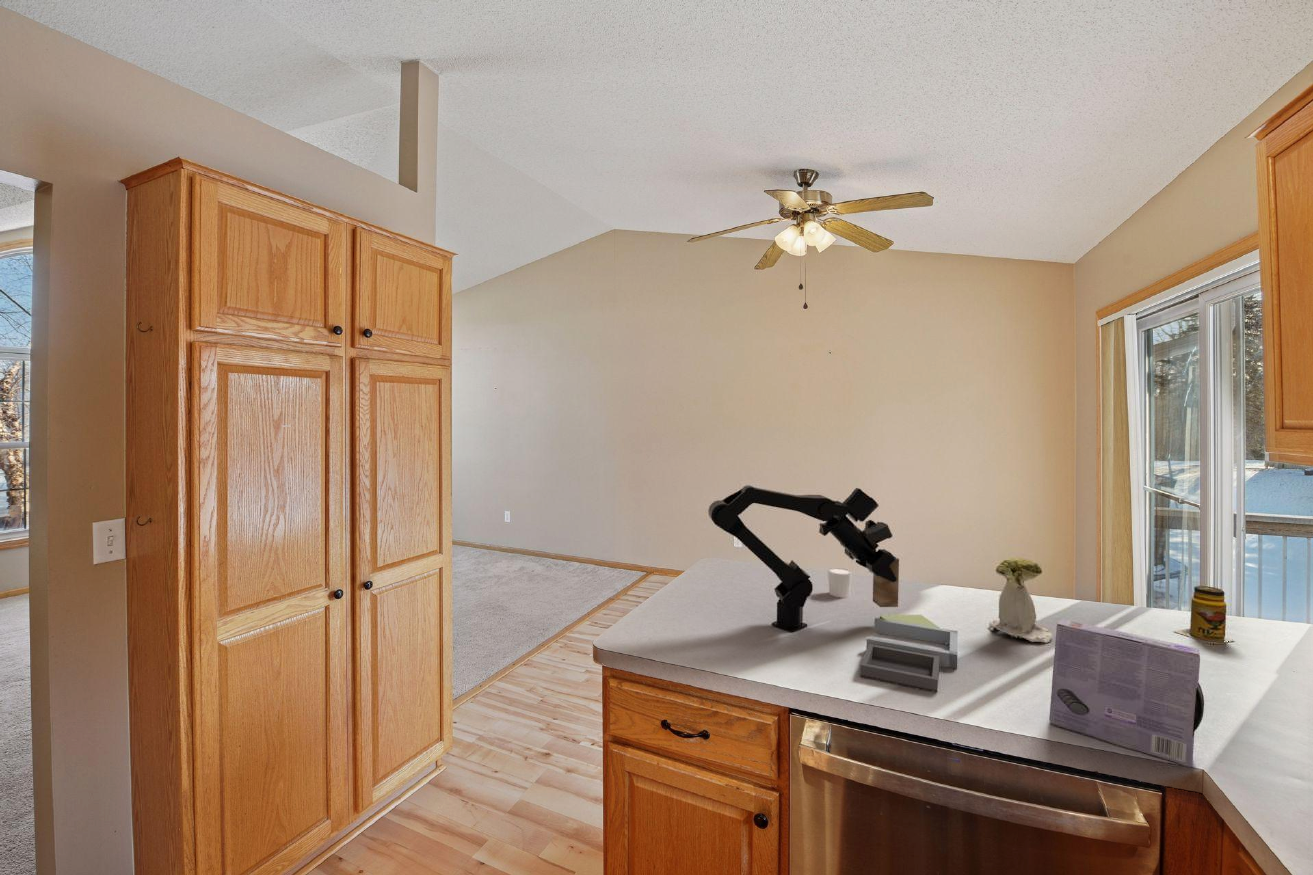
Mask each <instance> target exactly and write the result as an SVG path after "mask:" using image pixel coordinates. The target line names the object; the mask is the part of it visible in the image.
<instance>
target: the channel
mask: <svg viewBox="0 0 1313 875" xmlns="http://www.w3.org/2000/svg"><path fill="white" fill-rule="evenodd" d="M873 620H874V626H873V627H874V628H873V632H874V633H880V634H883V635H890V636H896V637H901V636H903V637H902V638H907V637H908V638H909V639H914V640H919V639H920V640H921V641H926V642H931V641H932V643H937V642H939V643H938V644H943V643H947V644H946V645H949V644H950V645H949V650H948V649H947V650H946V649H940V648H935V647H929V646H923V645H918V644H911V643H907V642H901V641H894V640H889V639H884V638H883V639H882V638H879V637H878V638H877V637H872V636H871V637H870V636H867V637H866V646H865V647H866V649H865V651H866V650H867V647H868V645H869V644H872V645H878V646H883V647H889V648H894V649H900V650H906V651H911V652H917V653H922V654H928V655H934V656H939V665H941V666H940V667H943V668H949V667H951V668H950V669H954V668H956V669H955V670H957V669H958V650H959V649H958V647H959V646H958V644H959V643H958V639H959V638H958V633H959V632H958V630H955V629H950V628H949V629H947V628H942V627H939V628H936V627H930V626H923V625H917V624H911V623H904V622H898V621H892V620H885V619H882V618H880V617H875V618H874V619H873ZM908 638H907V639H908Z"/></svg>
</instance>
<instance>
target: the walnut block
mask: <svg viewBox="0 0 1313 875" xmlns="http://www.w3.org/2000/svg"><path fill="white" fill-rule="evenodd" d="M894 557H895V558H896V559H895V561H894V562H893V563H892V564H891V565H890V568H891V570H892V571H893V573H894V575H895V577H896V578H897V580H896V581H895V582H892V581H889V580H887V579H885V578H882V577H880V576H876V575H874V574H873V573H872V602H873V603H874V604H875V605H877V606H878V607H879V608H899V586H900V584H899V578H900V577H899V574H900V573H899V572H900V559H899V558H898V557H896V556H894Z"/></svg>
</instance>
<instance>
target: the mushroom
mask: <svg viewBox="0 0 1313 875" xmlns="http://www.w3.org/2000/svg"><path fill="white" fill-rule="evenodd" d="M1042 570H1043V569H1042V568H1041V566H1040V565H1039V564H1038V563H1037V562H1034V561H1032V560H1030V559H1026V558H1023V557H1022V558H1021V557H1020V558H1019V557H1018V558H1006V559H1003V561H1001V562H1000V563H999V564H998V566H996V569H995V572H996V574H997V575H999V576H1002V577H1004V579H1006V582H1005V585H1004V587H1003V588H1002V590H1001V593H1000V594H999V595H998V596H999V599H998V600H999V601H998V620H997V619H996V620H995V619H993V621H989V624H988V625H989V626H988V628H990V629H989V631H990V630H991V631H994V629H996V630H998V631H1001V632H1004V633H1006V634H1008V635H1010V636H1011V637H1012V638H1013V637H1015V638H1018V637H1019V638H1018V639H1026V640H1028V641H1029V642H1032V643H1034V642H1037V643H1038V642H1041V643H1046V644H1047V643H1048V642H1049V643H1050V641H1051V640H1052V639H1053V634H1052V633H1051V632H1050V629H1047V628H1045V627H1042V626H1040V627H1039V626H1038V625H1037V624H1036V623H1037V614H1036V608H1035V604H1034V600H1033V598H1032V596H1031V594H1030V592H1029V591H1028V589H1027V587H1026V586H1025V582H1027V581H1028V582H1029V581H1030V580H1033V579H1035V578H1037V577H1039V576H1040V575H1041V574H1042V573H1043V571H1042Z"/></svg>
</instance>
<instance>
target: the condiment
mask: <svg viewBox="0 0 1313 875" xmlns="http://www.w3.org/2000/svg"><path fill="white" fill-rule="evenodd" d="M1193 590H1194V591H1193V596H1192V597H1191V603H1190V604H1191V605H1190V623H1189V625H1190V626H1189V628H1184V629H1180V630H1173V631H1172V632H1173V633H1177V634H1181V635H1184V636H1188V637H1190V638H1192V639H1195V640H1198V641H1201V642H1205V643H1208V644H1210V643H1211V644H1212V645H1219V644H1226V643H1230V642H1234V641H1236V640H1235V639H1231V638H1226V630H1227V628H1226V626H1227V623H1226V622H1227V603H1226V601H1225V591H1224V590H1223V589H1222V588H1221V589H1220V588H1218V587H1213V586H1206V585H1196V586H1194V588H1193ZM1224 641H1225V642H1224ZM1228 641H1229V642H1228ZM1213 643H1214V644H1213Z"/></svg>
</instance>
